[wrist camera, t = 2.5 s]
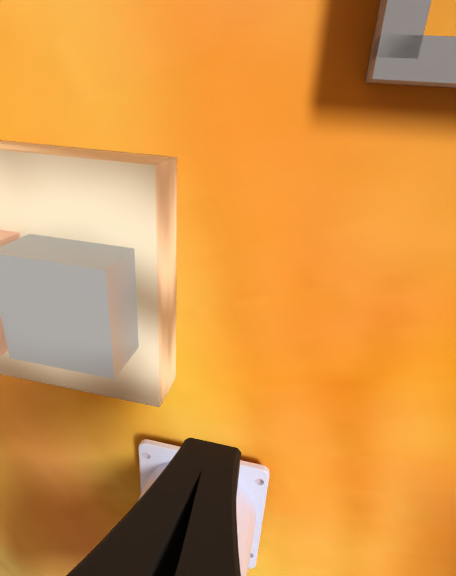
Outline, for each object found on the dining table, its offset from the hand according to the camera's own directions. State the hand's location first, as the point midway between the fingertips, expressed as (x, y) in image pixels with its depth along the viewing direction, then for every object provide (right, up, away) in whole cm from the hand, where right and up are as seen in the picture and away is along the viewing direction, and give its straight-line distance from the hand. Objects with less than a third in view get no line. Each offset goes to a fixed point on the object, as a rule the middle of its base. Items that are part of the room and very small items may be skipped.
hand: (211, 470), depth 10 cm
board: (-9, +6, +11) cm, 15 cm away
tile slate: (-6, +4, +8) cm, 11 cm away
